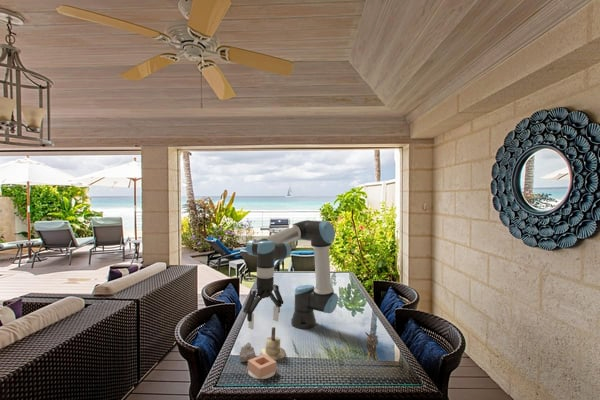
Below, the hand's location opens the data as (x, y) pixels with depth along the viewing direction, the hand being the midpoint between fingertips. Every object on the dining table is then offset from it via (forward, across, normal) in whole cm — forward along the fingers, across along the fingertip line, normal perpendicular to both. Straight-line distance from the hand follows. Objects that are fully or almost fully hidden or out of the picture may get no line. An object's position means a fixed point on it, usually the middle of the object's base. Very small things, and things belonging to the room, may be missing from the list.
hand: (263, 324), depth 140 cm
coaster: (+21, 0, 0) cm, 21 cm away
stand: (+21, -13, -9) cm, 26 cm away
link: (+20, 0, 0) cm, 20 cm away
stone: (+21, -2, -14) cm, 25 cm away
